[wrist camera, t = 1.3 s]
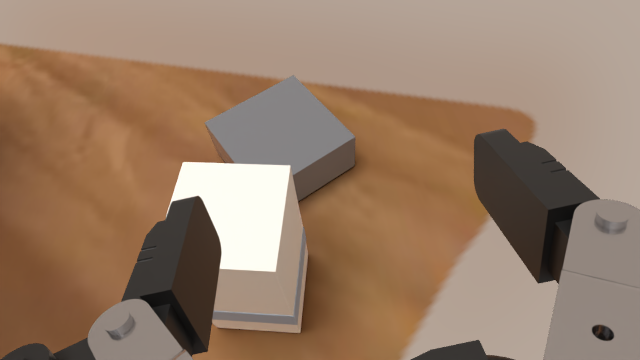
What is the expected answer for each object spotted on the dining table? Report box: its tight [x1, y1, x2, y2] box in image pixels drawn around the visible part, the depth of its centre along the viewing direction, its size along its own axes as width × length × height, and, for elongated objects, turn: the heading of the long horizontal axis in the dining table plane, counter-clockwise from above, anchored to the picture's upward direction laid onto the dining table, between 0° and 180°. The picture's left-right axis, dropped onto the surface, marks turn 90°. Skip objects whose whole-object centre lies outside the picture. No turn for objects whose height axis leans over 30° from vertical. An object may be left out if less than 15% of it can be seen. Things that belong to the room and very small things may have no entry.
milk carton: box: [166, 162, 308, 333], centre depth 26 cm, size 6×6×12 cm
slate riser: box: [205, 75, 355, 201], centre depth 36 cm, size 9×9×4 cm
